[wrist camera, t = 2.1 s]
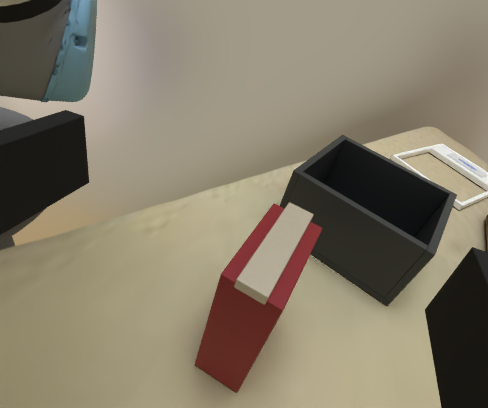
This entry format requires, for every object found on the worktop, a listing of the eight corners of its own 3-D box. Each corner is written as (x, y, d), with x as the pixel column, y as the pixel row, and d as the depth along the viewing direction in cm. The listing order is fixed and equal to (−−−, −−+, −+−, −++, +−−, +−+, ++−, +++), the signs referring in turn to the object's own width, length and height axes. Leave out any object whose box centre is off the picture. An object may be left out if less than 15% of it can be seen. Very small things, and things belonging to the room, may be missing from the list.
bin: (271, 226, 41) (293, 170, 35) (318, 184, 50) (342, 134, 45) (387, 306, 36) (435, 255, 30) (416, 242, 45) (457, 194, 39)
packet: (192, 367, 27) (220, 270, 18) (240, 293, 33) (277, 195, 24) (235, 395, 26) (285, 307, 17) (275, 314, 32) (326, 220, 24)
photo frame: (508, 184, 62) (463, 205, 53) (504, 189, 63) (459, 210, 54) (442, 142, 70) (392, 154, 61) (439, 147, 71) (389, 159, 62)
